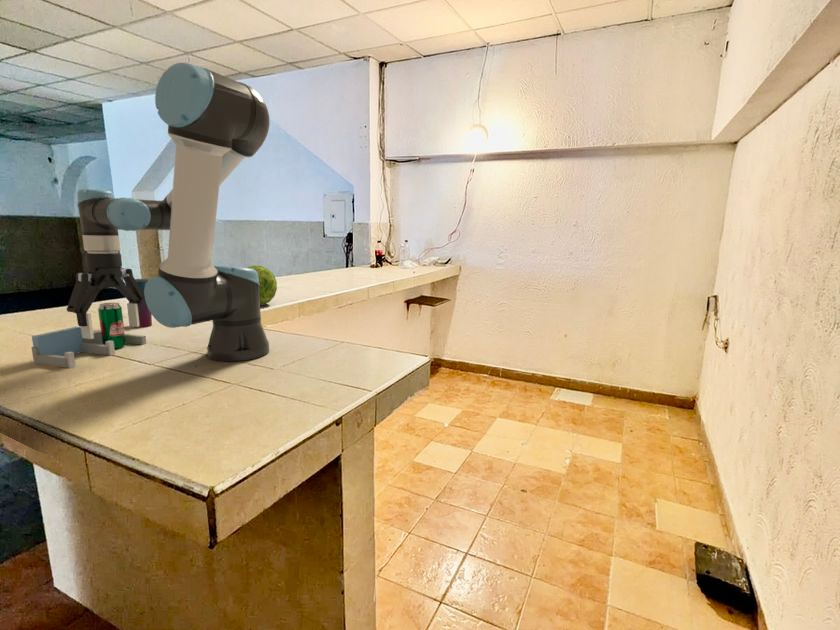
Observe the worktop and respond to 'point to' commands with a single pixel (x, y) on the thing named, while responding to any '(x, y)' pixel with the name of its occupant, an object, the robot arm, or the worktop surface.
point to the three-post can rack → (72, 346)
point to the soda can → (112, 324)
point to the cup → (143, 307)
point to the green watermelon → (265, 284)
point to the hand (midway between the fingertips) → (112, 332)
